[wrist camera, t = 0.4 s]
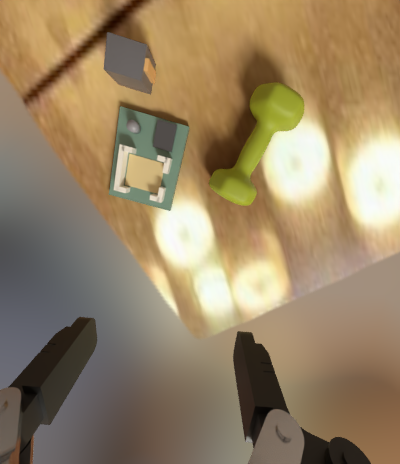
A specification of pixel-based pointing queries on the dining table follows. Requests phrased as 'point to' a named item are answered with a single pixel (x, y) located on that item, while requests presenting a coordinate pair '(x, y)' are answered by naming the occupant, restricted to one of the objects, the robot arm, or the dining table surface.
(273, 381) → the robot arm
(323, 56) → the dining table surface
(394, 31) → the dining table surface
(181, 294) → the dining table surface
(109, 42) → the plug
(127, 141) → the board
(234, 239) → the dining table surface
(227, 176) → the dumbbell
